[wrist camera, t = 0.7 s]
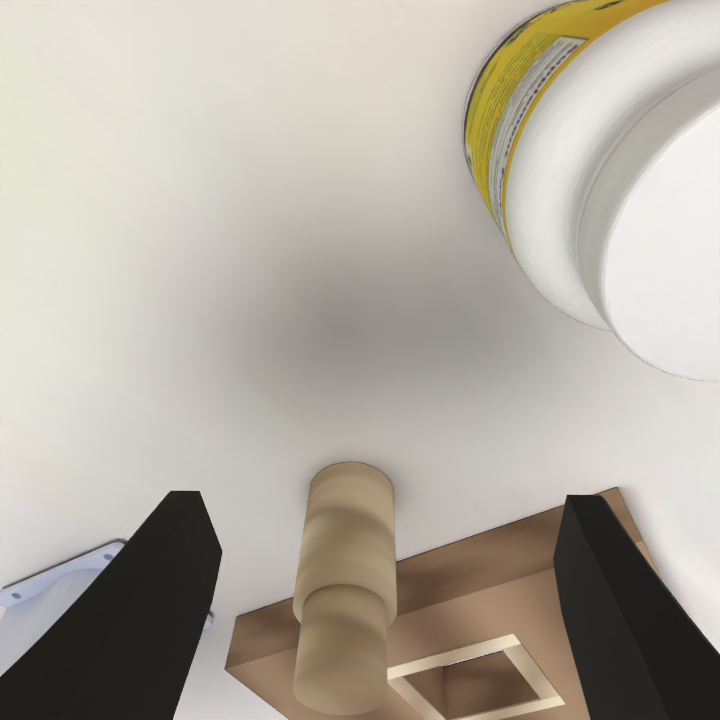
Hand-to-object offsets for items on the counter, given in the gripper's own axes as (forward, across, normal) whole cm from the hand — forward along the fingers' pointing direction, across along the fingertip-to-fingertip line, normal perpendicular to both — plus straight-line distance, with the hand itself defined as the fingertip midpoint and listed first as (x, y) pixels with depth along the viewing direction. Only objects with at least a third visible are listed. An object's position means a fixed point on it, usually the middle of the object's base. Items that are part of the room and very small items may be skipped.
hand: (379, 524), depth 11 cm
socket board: (+10, -3, +23) cm, 25 cm away
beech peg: (+10, +2, +11) cm, 15 cm away
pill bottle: (+12, -5, -5) cm, 14 cm away
